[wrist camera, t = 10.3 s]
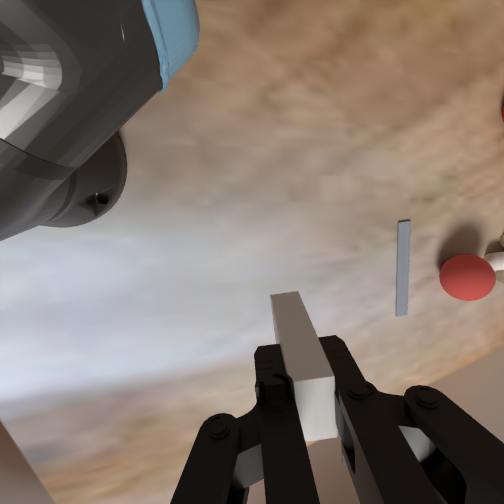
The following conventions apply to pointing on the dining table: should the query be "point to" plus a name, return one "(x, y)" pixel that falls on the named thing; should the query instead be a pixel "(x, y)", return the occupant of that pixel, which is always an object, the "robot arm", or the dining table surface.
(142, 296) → the dining table surface
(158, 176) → the dining table surface
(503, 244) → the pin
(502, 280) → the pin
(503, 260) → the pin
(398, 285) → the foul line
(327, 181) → the dining table surface
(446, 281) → the ball
